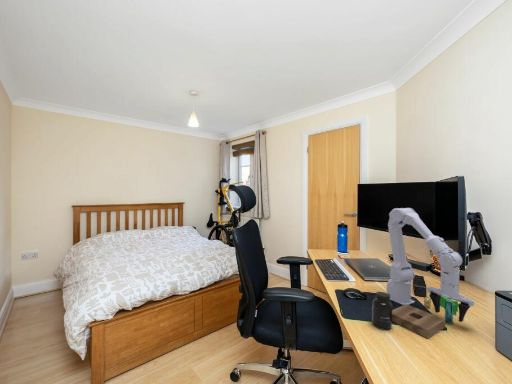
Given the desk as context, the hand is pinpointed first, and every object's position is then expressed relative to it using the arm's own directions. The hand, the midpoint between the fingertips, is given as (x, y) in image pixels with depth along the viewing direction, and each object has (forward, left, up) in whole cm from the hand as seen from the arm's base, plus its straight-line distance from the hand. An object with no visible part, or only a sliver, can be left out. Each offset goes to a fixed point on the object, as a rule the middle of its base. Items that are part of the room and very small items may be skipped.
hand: (448, 316), depth 93 cm
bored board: (-6, -13, -2) cm, 14 cm away
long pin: (0, 0, -2) cm, 2 cm away
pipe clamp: (-5, +13, -2) cm, 14 cm away
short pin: (-10, +6, -2) cm, 12 cm away
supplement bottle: (-12, -26, -2) cm, 29 cm away
